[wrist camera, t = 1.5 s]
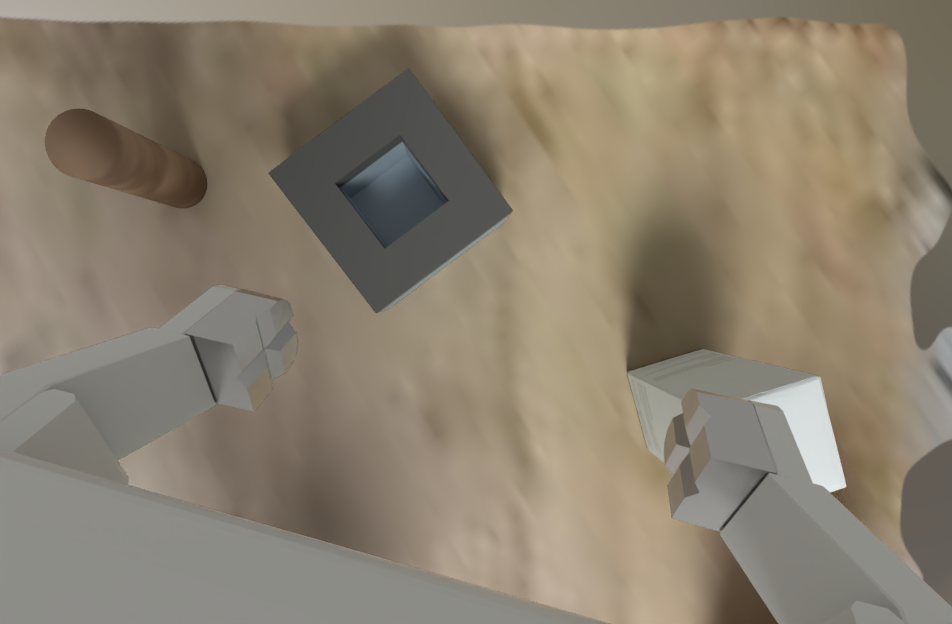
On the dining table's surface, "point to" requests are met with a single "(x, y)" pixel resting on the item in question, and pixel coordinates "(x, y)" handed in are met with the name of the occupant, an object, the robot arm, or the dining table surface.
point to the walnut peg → (122, 159)
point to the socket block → (392, 192)
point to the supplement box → (744, 379)
